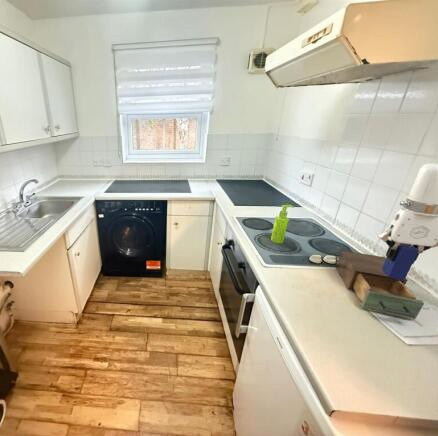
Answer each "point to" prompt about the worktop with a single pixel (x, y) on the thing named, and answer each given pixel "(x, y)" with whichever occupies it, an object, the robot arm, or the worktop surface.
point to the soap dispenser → (280, 225)
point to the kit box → (400, 262)
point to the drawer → (386, 296)
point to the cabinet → (360, 267)
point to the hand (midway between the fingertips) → (399, 259)
